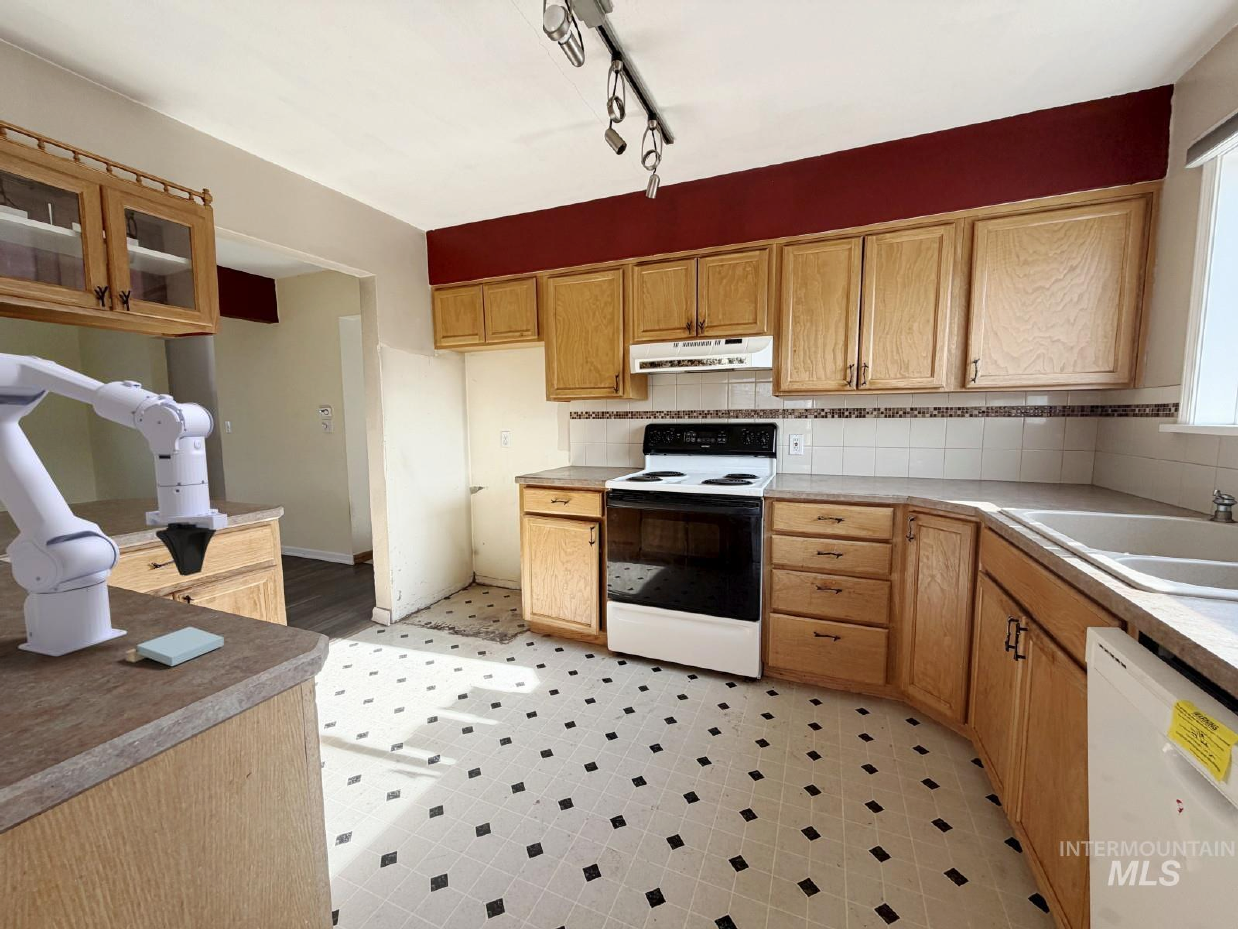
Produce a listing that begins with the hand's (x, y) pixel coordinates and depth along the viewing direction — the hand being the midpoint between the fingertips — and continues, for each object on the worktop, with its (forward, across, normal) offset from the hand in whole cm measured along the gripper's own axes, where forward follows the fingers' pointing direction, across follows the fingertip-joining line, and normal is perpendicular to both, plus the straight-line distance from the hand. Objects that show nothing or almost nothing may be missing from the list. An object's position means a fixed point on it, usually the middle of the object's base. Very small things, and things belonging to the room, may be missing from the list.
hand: (190, 573), depth 74 cm
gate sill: (+10, 0, +4) cm, 11 cm away
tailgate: (+8, -1, +4) cm, 9 cm away
